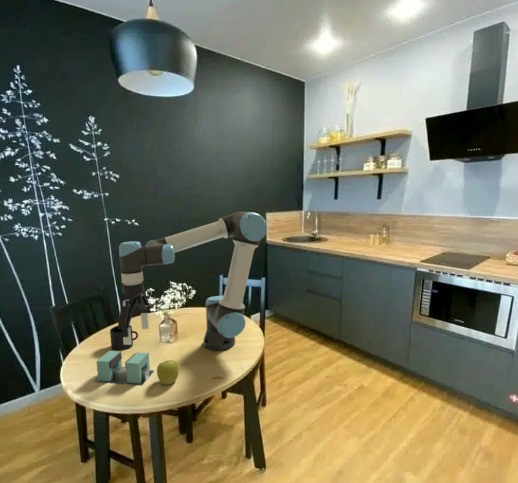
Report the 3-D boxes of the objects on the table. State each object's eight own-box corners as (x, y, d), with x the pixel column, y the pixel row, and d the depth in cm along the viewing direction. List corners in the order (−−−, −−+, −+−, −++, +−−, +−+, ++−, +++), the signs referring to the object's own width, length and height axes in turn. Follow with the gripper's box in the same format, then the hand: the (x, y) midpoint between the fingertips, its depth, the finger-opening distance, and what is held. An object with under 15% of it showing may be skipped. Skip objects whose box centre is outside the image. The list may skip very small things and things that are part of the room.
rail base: (154, 371, 126) (153, 363, 125) (142, 386, 116) (141, 377, 116) (108, 368, 128) (108, 360, 128) (93, 382, 119) (92, 374, 118)
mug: (138, 348, 145) (136, 330, 144) (109, 352, 141) (108, 334, 140) (139, 340, 154) (138, 322, 153) (113, 343, 150) (111, 325, 149)
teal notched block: (123, 369, 126) (121, 351, 125) (111, 381, 119) (110, 361, 117) (110, 369, 127) (109, 350, 126) (98, 380, 119) (96, 361, 118)
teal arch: (149, 371, 125) (148, 353, 124) (139, 383, 117) (138, 363, 116) (136, 370, 126) (135, 352, 125) (125, 382, 118) (124, 362, 117)
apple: (182, 382, 116) (172, 360, 114) (161, 391, 115) (151, 368, 113) (182, 371, 124) (173, 349, 122) (163, 379, 123) (154, 357, 121)
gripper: (139, 274, 129) (143, 322, 133) (103, 292, 105) (108, 351, 108) (156, 274, 128) (160, 323, 132) (124, 293, 104) (129, 352, 107)
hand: (137, 336), depth 120 cm, fingers open, 13 cm apart
